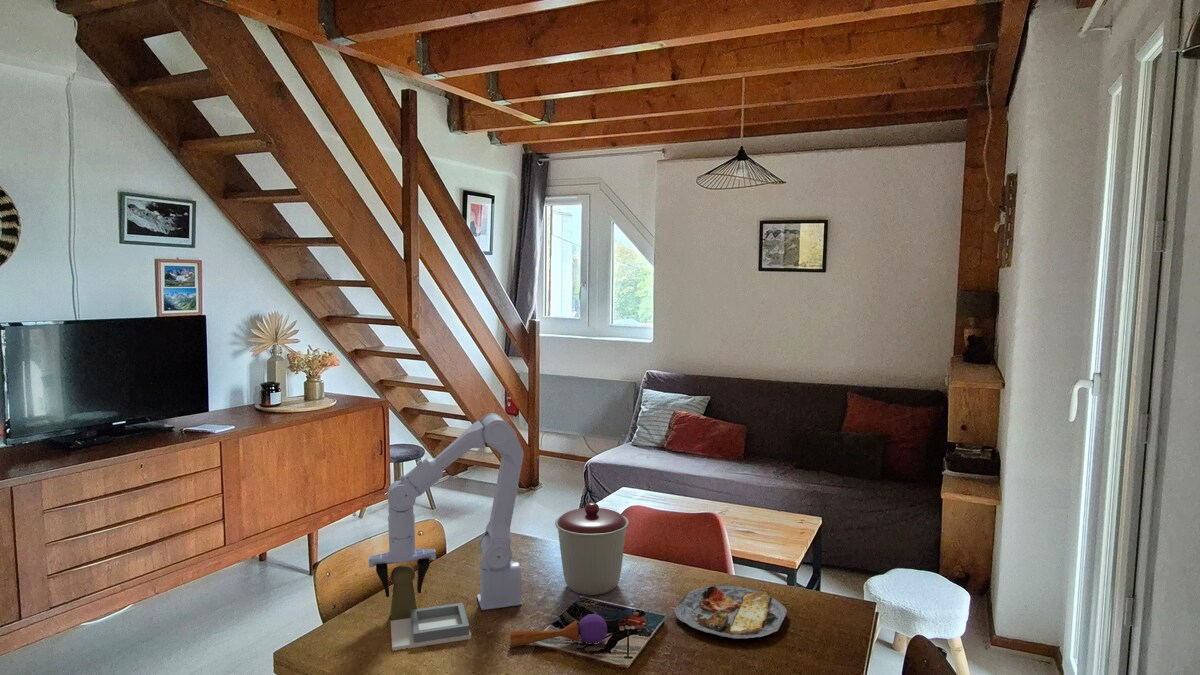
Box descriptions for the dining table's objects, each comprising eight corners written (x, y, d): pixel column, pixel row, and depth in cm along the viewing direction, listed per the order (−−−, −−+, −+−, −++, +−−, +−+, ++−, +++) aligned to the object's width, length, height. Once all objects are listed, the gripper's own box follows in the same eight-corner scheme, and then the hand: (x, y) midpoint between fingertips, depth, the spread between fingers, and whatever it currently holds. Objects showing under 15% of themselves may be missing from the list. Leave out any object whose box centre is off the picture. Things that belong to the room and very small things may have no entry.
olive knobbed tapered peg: (410, 621, 159) (409, 573, 158) (385, 619, 160) (383, 571, 160) (422, 609, 165) (421, 563, 164) (398, 607, 166) (396, 561, 166)
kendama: (510, 620, 152) (604, 609, 154) (513, 649, 151) (607, 637, 153) (509, 628, 146) (606, 616, 148) (511, 658, 145) (609, 646, 147)
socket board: (464, 613, 163) (463, 601, 163) (471, 638, 152) (470, 626, 151) (390, 624, 158) (390, 612, 158) (392, 650, 147) (391, 637, 147)
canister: (544, 580, 181) (543, 498, 180) (607, 566, 190) (607, 488, 188) (574, 608, 165) (573, 519, 164) (642, 593, 174) (642, 507, 172)
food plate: (699, 585, 178) (699, 571, 177) (794, 604, 167) (795, 590, 167) (662, 632, 155) (662, 617, 155) (770, 658, 145) (770, 641, 145)
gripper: (433, 525, 167) (434, 582, 168) (368, 532, 163) (369, 590, 164) (436, 535, 161) (437, 594, 162) (368, 543, 156) (369, 603, 157)
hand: (403, 593), depth 162 cm, fingers open, 6 cm apart
